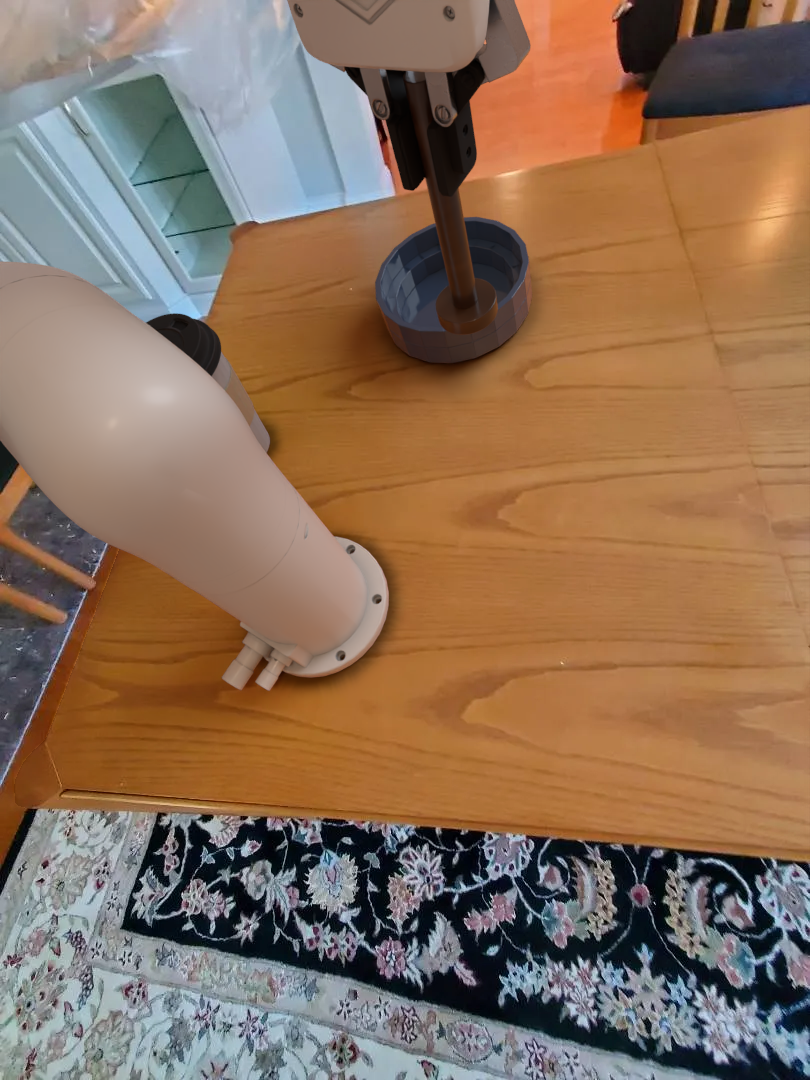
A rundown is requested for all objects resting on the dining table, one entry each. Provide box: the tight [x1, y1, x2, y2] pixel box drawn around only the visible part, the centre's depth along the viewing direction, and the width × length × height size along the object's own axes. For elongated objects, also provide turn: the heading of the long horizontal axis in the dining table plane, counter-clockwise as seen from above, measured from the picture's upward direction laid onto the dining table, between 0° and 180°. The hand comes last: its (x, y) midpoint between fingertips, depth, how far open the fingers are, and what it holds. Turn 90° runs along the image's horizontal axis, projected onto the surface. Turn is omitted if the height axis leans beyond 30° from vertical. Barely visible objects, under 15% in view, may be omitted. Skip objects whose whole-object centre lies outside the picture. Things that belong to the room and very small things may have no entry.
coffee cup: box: [145, 312, 271, 454], centre depth 58 cm, size 9×9×15 cm
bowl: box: [374, 216, 533, 364], centre depth 63 cm, size 15×15×5 cm
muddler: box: [403, 71, 498, 335], centre depth 39 cm, size 4×4×16 cm
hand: (439, 176), depth 37 cm, fingers closed on muddler
